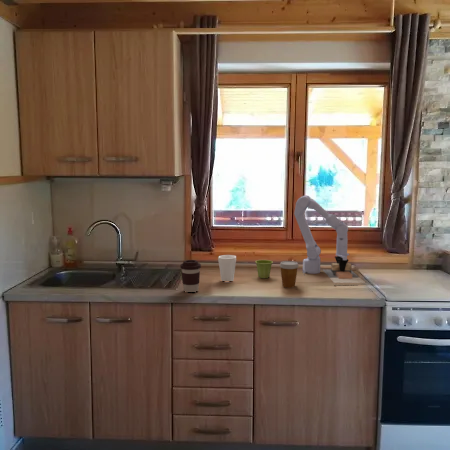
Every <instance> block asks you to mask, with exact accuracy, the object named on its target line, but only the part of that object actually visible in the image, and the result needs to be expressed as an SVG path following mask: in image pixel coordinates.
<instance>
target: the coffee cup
mask: <svg viewBox="0 0 450 450" xmlns="http://www.w3.org/2000/svg"><path fill="white" fill-rule="evenodd" d="M179 266H180V269H181V280H182V281H181V282H182V288H183V292H184V291H186V292H195V293H197V292H196V291H199V289H200V288H199V287H200V277H201V276H200V275H201V270H200V269H201V268H202V267H201V266H202V265H201V263H199V262H198V260H195V259H187V260H183V262H182V263H181V264H180V265H179ZM186 292H185V293H186Z"/></svg>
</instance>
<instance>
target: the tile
mask: <svg viewBox="0 0 450 450" xmlns="http://www.w3.org/2000/svg"><path fill="white" fill-rule="evenodd" d="M336 276H337V277H338V278H352V274H351V273H350V272H349V271H345V272H336Z"/></svg>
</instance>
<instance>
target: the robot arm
mask: <svg viewBox="0 0 450 450" xmlns="http://www.w3.org/2000/svg"><path fill="white" fill-rule="evenodd" d="M307 209H308V210H309V209H310V210H314V211H315V212H316V213H317V214H319V215H320V216H322V217H323V218H324V219H325V223H326V224H327V225H328V226H330V227H331V228H332V229H333V230H334V231H335V233H336V245H335V246H336V249H335V250H336V251H335V256H334V259H335V261H336V262H335V263H339V267H340V272H344V271H345V267H346V264H347V263H349V259H348V256H350V253H348V243H349V242H348V241H349V240H348V235H349V234H348V232H349V226H348V225H347V223H345V222H344V221H343V220H340V218H338V217H337V214H334V213H329V212H327V210H326V209H325V208H324V207H322V205H320V204H319V203H318V202H317V201H316V200H315V199H313V198H311V197H310V196H309V195H302V196H300V197H299V198H298V199H297V200H296V202H295V208H294V212H293V214H294V217H295V220H296V222H297V225H298V227H299V230H300V232H301V233H300V234H301V235H302V237H303V240H304V242H305V248H306V256H307V257H306V258H304V259H302V274H303V275H305V274H315V275H316V274H320V273H321V257H320V255H321V252H322V250H321V248H320V246H319V245H318V244H317V241H315V238H314V236H313V234H312V231H311V229H310V226H309V224H308V220H307V219H306V216H305V212H306V210H307Z"/></svg>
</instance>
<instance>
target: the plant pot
mask: <svg viewBox="0 0 450 450" xmlns="http://www.w3.org/2000/svg"><path fill="white" fill-rule="evenodd" d="M255 263H256V268H257V270H256V271H257V276H258V278H259V277H260V279H269V278H270V276H271V269H272V265H273V263H274V262H273V260H269V259H258V260H255ZM268 277H269V278H268Z"/></svg>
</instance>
